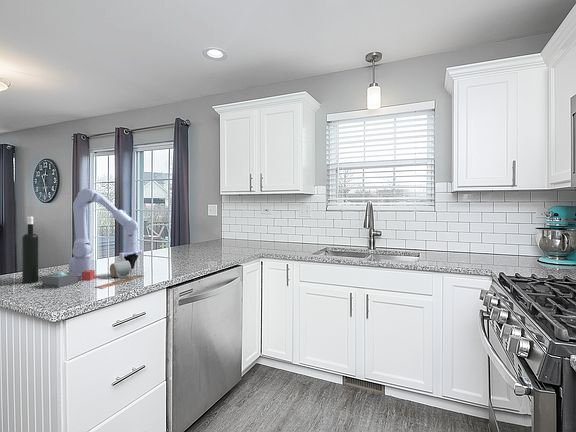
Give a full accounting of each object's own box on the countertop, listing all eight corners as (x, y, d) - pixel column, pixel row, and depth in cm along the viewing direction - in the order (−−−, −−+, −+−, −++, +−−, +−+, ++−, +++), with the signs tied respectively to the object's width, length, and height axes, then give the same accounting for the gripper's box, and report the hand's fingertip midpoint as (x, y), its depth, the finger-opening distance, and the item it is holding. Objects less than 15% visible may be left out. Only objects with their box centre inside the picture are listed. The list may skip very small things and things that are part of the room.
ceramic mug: (108, 276, 163) (108, 261, 163) (125, 274, 169) (125, 259, 169) (117, 280, 156) (117, 264, 156) (134, 277, 162) (134, 262, 162)
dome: (49, 282, 143) (49, 272, 143) (60, 279, 148) (60, 269, 148) (59, 283, 142) (59, 273, 141) (70, 280, 147) (70, 270, 147)
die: (81, 280, 154) (81, 271, 154) (86, 278, 158) (86, 269, 158) (90, 280, 154) (90, 271, 154) (94, 278, 158) (94, 269, 158)
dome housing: (42, 285, 142) (42, 275, 142) (61, 281, 150) (61, 271, 150) (58, 287, 140) (58, 277, 139) (76, 283, 148) (76, 273, 148)
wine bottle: (36, 279, 152) (36, 216, 151) (40, 282, 148) (39, 216, 148) (20, 282, 148) (20, 216, 147) (24, 284, 144) (23, 216, 143)
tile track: (95, 287, 141) (95, 287, 141) (137, 275, 167) (137, 274, 167) (102, 288, 140) (102, 287, 140) (144, 276, 166) (144, 275, 166)
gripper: (127, 245, 162) (127, 272, 163) (147, 242, 176) (146, 266, 177) (115, 244, 164) (115, 271, 165) (136, 241, 178) (135, 266, 179)
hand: (131, 268), depth 171 cm, fingers closed
